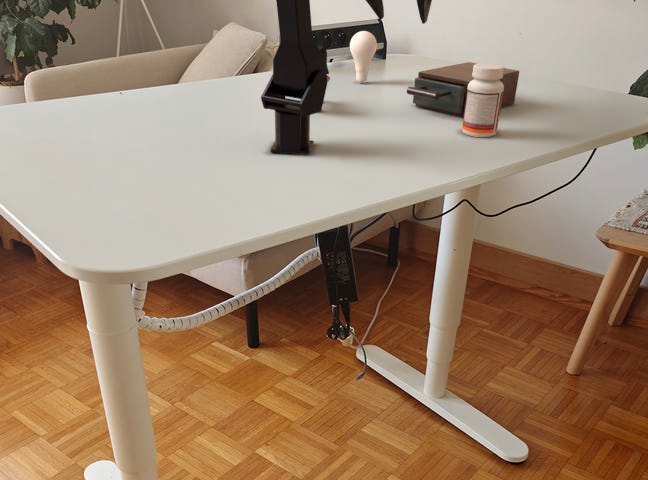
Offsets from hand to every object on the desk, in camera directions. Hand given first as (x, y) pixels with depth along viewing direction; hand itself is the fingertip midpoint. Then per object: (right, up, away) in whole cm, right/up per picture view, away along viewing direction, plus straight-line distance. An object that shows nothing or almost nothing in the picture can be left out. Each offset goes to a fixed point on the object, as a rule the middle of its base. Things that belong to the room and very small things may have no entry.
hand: (402, 20), depth 127 cm
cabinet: (+15, -10, +14) cm, 23 cm away
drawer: (+11, -11, +11) cm, 20 cm away
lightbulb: (-5, +1, +32) cm, 32 cm away
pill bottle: (+13, -22, -4) cm, 26 cm away
